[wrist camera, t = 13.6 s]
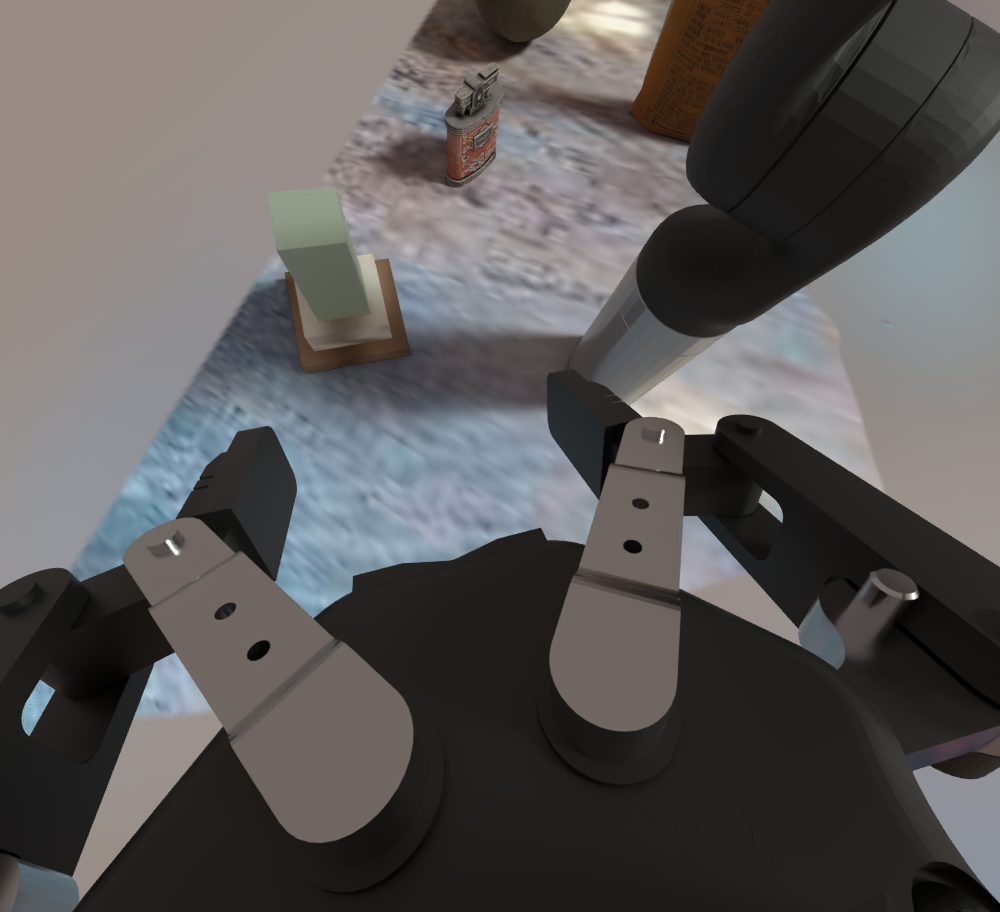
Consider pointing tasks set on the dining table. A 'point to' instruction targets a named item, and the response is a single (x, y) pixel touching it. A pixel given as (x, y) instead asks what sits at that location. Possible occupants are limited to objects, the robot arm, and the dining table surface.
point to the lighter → (473, 126)
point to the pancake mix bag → (691, 62)
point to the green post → (319, 251)
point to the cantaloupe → (522, 17)
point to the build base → (356, 350)
